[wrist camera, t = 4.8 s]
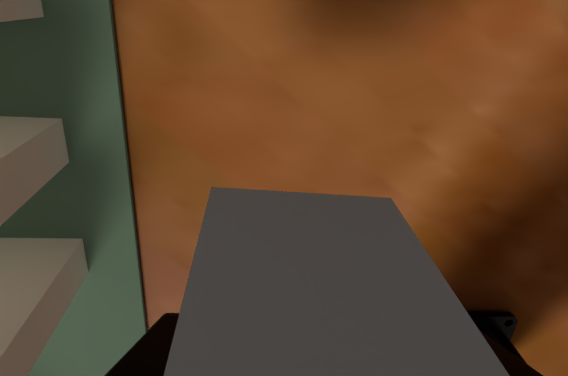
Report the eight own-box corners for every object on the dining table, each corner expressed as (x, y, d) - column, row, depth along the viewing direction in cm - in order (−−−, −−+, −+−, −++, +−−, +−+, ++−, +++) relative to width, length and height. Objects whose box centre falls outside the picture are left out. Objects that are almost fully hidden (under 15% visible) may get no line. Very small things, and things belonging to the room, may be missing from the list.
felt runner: (73, -344, 12) (69, -352, 12) (154, 401, 26) (153, 405, 25) (-305, -393, 11) (-320, -403, 11) (-16, 405, 25) (-19, 409, 25)
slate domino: (390, 197, 12) (607, 524, 4) (378, 257, 12) (544, 617, 5) (211, 186, 11) (125, 528, 4) (210, 249, 12) (135, 630, 5)
